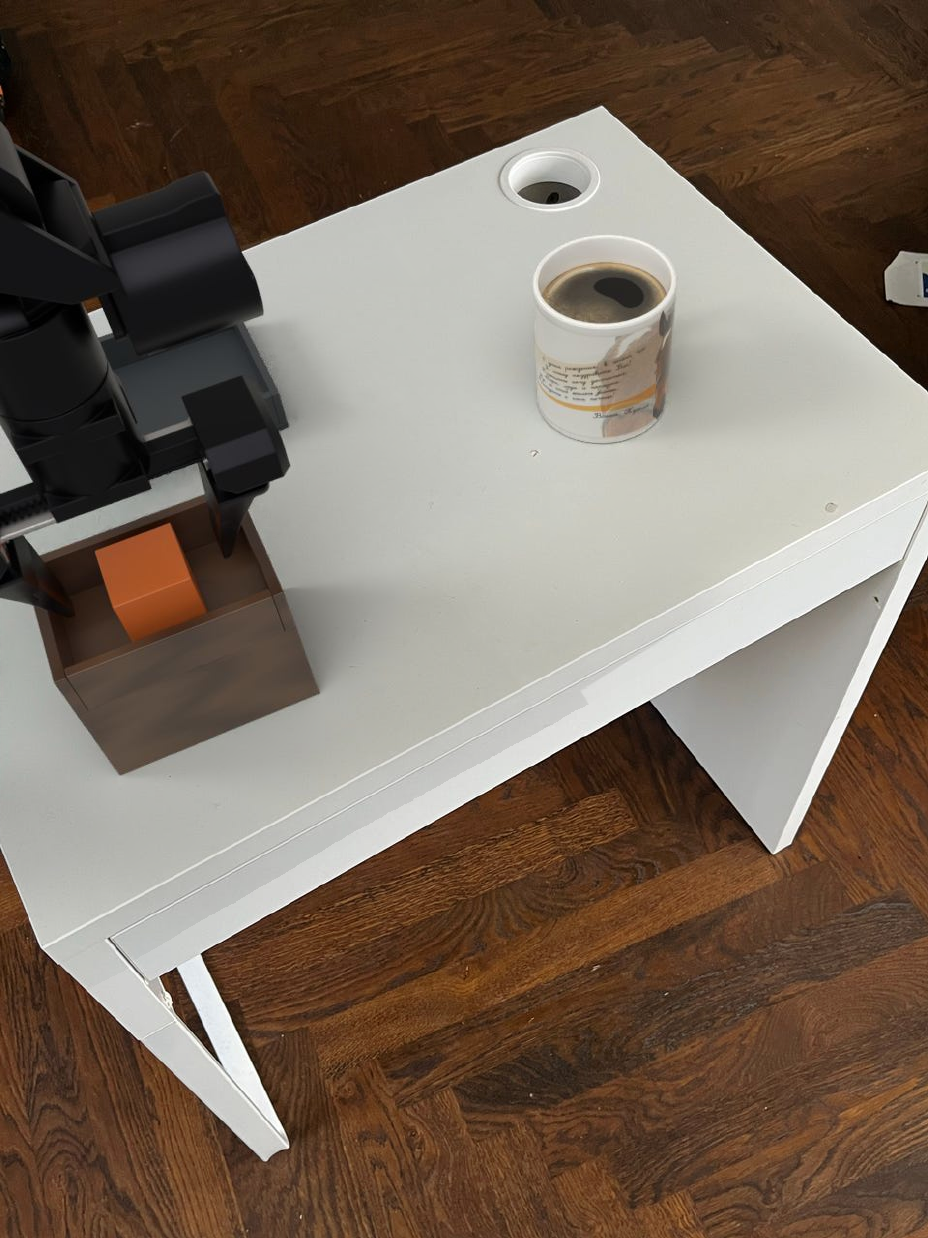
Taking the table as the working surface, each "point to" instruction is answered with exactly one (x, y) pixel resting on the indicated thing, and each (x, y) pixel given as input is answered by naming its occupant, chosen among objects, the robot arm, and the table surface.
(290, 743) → the table surface
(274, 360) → the table surface
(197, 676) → the box
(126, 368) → the tub
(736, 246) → the table surface
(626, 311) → the mug
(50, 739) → the table surface
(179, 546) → the block
